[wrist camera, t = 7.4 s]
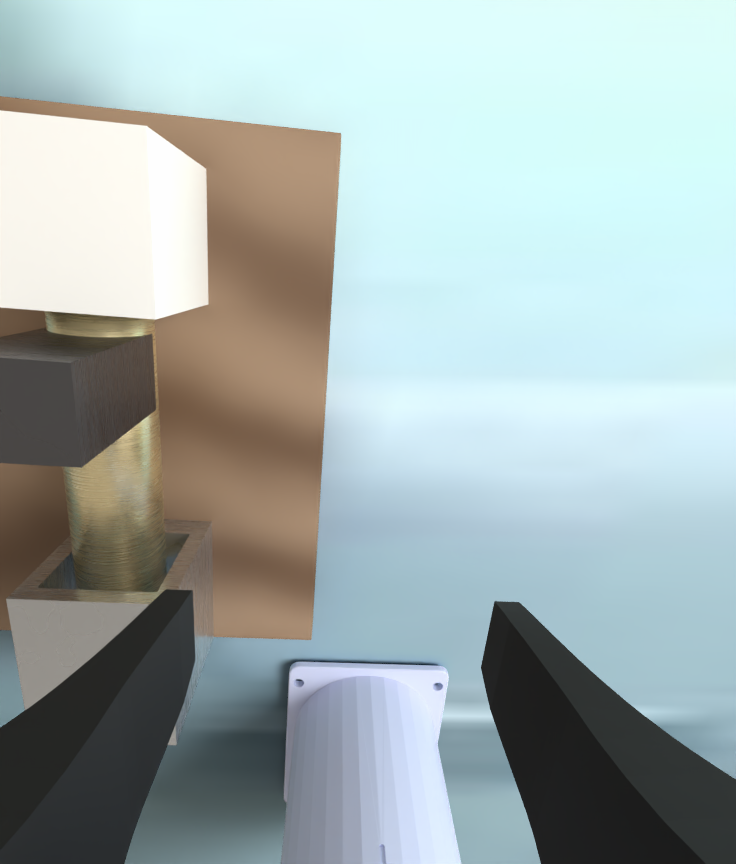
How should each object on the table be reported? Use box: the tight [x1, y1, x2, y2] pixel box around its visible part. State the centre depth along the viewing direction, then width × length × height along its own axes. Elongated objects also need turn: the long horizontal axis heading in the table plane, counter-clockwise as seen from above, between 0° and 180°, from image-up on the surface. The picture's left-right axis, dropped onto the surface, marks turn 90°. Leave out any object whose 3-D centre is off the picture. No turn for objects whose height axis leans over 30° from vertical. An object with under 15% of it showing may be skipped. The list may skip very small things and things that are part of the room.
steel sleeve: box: [6, 519, 214, 745], centre depth 19 cm, size 6×5×6 cm
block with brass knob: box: [0, 311, 167, 592], centre depth 15 cm, size 14×3×7 cm, turn 175°
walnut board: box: [0, 96, 341, 640], centre depth 20 cm, size 21×14×1 cm, turn 175°
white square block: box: [0, 110, 208, 320], centre depth 15 cm, size 4×5×6 cm
